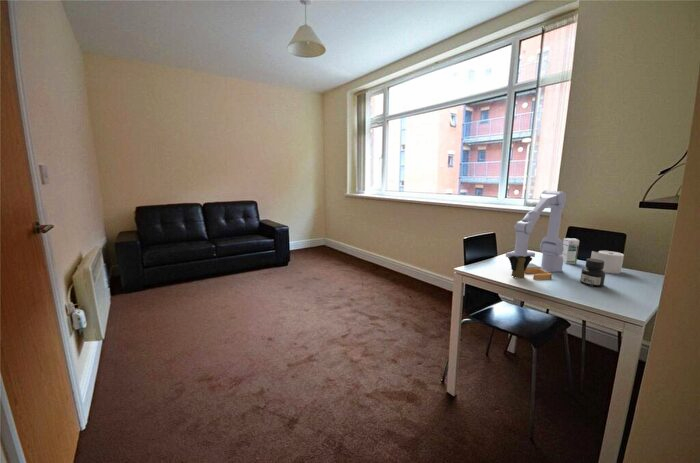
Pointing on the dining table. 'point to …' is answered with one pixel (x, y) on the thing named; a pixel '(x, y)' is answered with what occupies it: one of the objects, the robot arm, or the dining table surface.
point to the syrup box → (570, 250)
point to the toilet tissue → (609, 260)
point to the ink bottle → (593, 273)
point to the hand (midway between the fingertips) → (518, 270)
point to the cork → (519, 268)
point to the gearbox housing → (536, 269)
